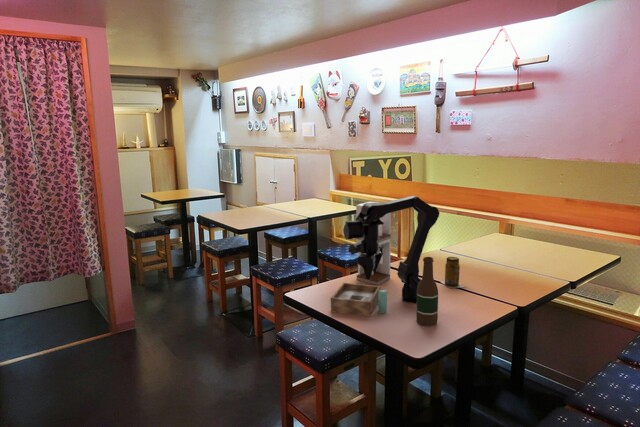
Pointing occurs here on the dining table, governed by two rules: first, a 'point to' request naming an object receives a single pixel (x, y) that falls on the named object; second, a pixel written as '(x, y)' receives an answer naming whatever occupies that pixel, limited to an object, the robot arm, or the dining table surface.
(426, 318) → the beer bottle
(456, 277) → the condiment
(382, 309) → the peg
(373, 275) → the display case
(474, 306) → the dining table surface
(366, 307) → the box
